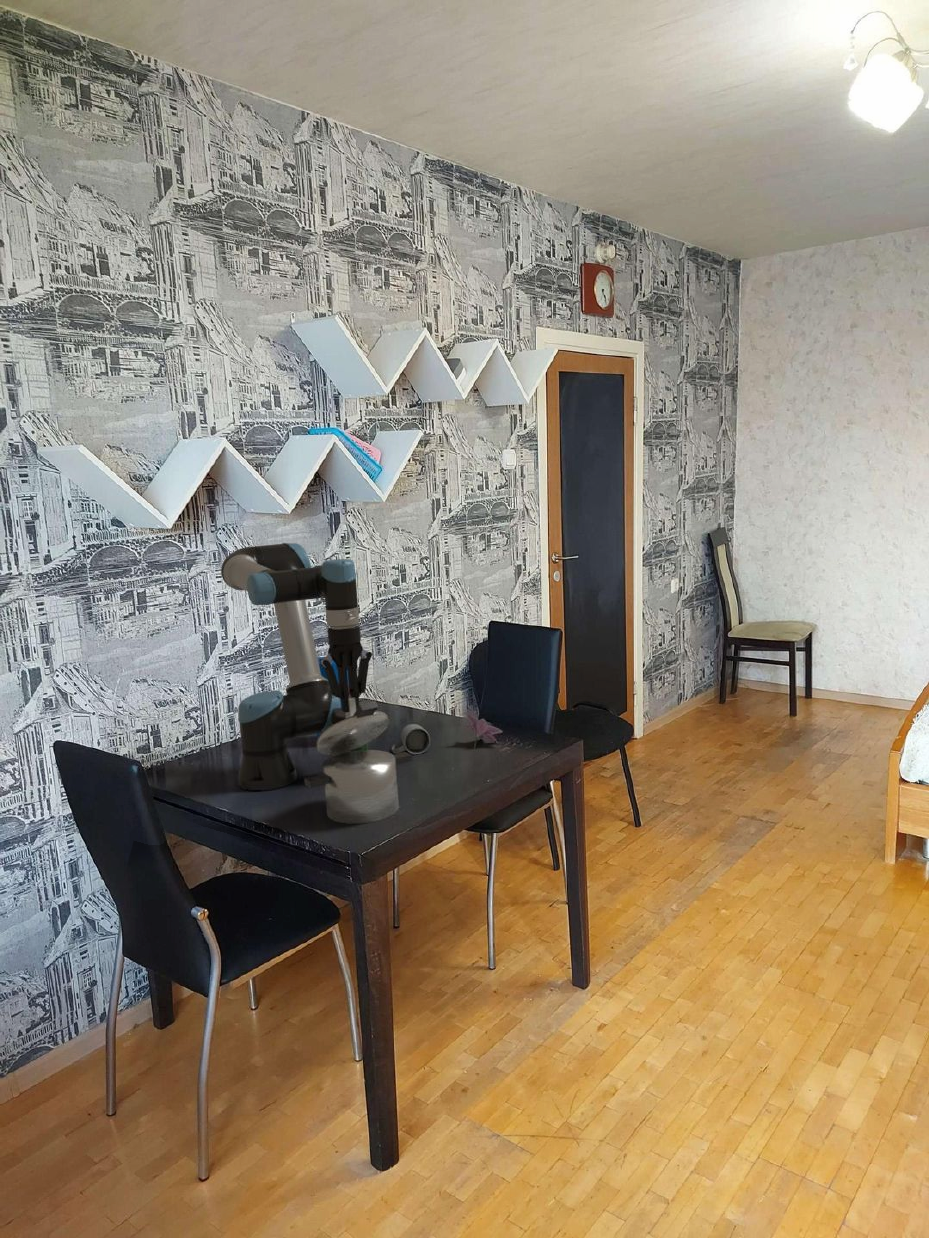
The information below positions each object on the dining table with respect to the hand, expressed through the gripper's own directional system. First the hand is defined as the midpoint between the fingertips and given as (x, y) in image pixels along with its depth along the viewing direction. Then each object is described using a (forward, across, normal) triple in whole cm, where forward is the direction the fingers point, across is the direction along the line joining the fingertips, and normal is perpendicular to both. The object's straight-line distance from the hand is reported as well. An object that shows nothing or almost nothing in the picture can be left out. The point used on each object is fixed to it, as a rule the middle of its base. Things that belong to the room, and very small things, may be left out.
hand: (351, 724), depth 208 cm
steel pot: (+21, 0, -2) cm, 21 cm away
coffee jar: (+21, +10, +22) cm, 32 cm away
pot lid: (+1, 0, -2) cm, 2 cm away
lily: (+21, +50, +18) cm, 57 cm away
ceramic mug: (+21, +32, +28) cm, 48 cm away
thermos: (+20, +21, +54) cm, 61 cm away
